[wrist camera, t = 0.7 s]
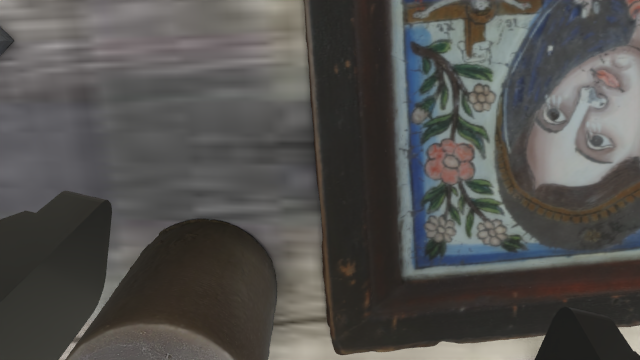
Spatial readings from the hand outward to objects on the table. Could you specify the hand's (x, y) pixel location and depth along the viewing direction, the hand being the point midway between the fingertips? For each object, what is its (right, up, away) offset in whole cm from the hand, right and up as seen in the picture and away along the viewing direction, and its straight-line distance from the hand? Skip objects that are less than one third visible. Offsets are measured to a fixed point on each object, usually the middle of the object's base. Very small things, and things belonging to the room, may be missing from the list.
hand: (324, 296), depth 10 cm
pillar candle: (-8, -5, +30) cm, 31 cm away
